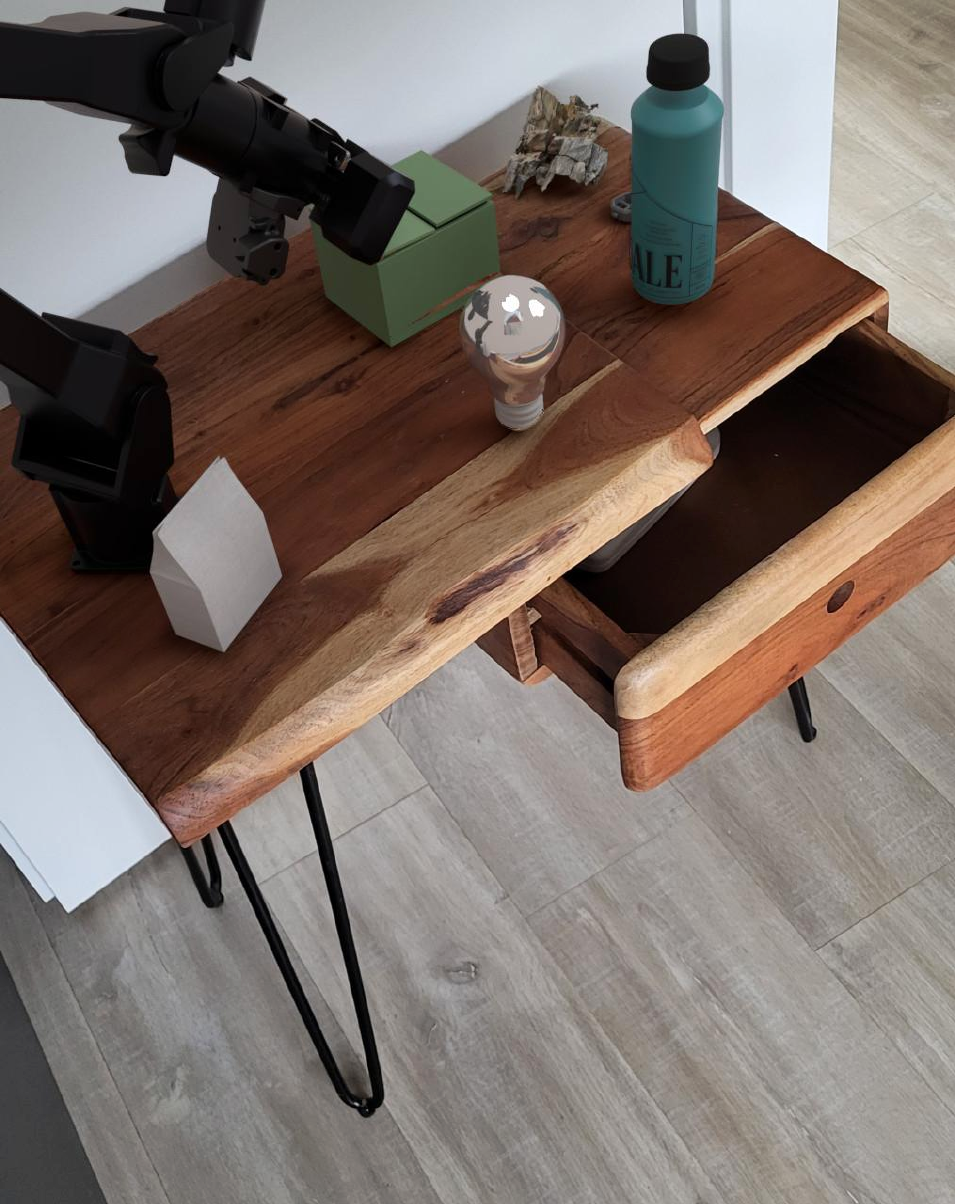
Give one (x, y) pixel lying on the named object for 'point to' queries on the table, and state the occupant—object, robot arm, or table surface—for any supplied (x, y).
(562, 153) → the rock
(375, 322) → the carton
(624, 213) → the key
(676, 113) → the beverage bottle
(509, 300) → the light bulb
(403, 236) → the flap
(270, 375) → the table surface
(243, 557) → the white milk carton
